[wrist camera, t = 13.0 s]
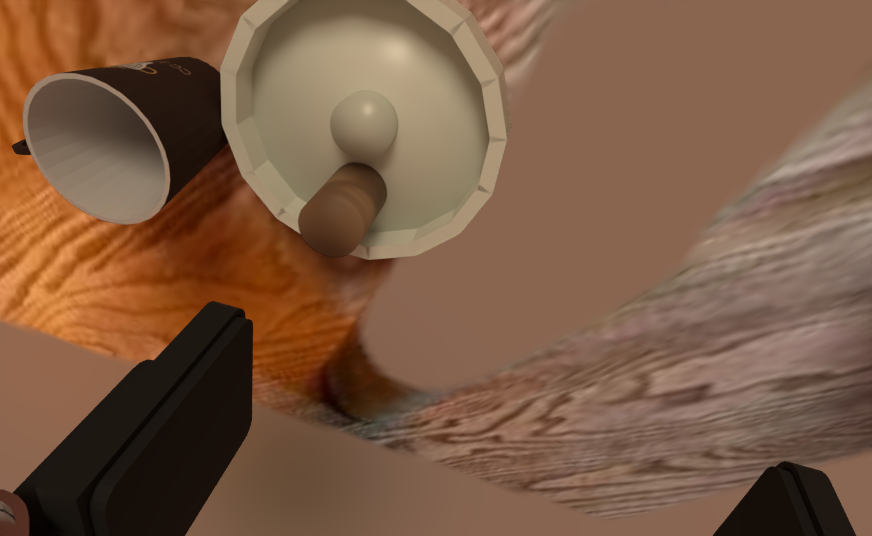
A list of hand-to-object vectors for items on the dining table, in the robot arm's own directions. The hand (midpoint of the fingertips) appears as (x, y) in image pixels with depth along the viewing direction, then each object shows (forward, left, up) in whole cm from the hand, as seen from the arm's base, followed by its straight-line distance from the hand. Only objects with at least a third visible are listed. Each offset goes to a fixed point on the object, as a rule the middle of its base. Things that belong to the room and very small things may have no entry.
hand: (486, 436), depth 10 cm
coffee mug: (+24, +7, -28) cm, 38 cm away
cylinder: (+10, +10, -28) cm, 31 cm away
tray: (+10, +5, -28) cm, 30 cm away
